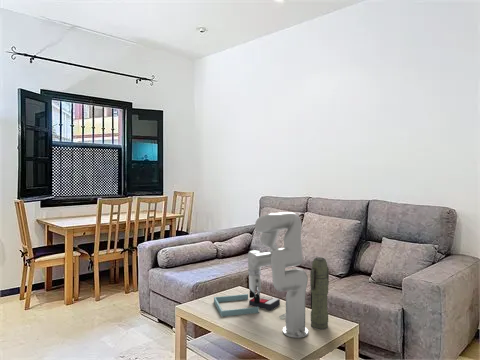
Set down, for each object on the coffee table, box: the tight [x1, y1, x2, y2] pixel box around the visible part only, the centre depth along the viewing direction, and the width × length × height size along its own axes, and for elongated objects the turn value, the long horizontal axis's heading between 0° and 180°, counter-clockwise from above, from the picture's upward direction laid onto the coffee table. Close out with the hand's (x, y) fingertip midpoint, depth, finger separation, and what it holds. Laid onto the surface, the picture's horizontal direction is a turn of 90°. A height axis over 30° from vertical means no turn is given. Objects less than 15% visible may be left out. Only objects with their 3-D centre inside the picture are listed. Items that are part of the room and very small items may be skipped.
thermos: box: [309, 256, 330, 330], centre depth 192 cm, size 9×12×35 cm
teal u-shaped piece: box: [213, 293, 260, 317], centre depth 219 cm, size 23×21×3 cm
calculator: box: [248, 294, 281, 311], centre depth 222 cm, size 11×4×15 cm
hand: (254, 300), depth 222 cm, fingers open, 9 cm apart
